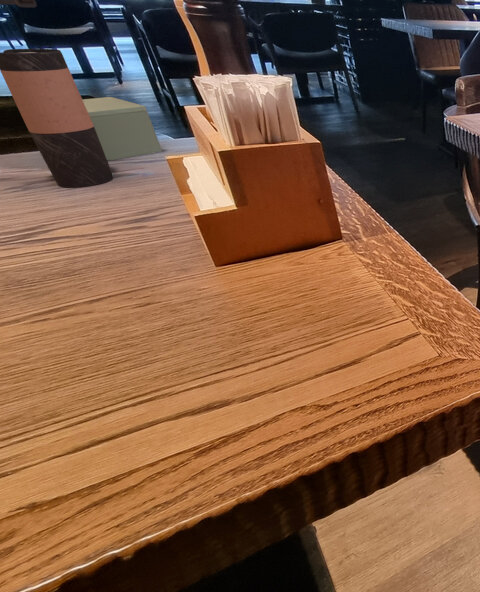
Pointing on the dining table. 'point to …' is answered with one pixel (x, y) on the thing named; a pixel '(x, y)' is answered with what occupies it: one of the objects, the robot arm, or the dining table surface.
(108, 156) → the chest
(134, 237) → the dining table surface
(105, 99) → the lid
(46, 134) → the travel mug
